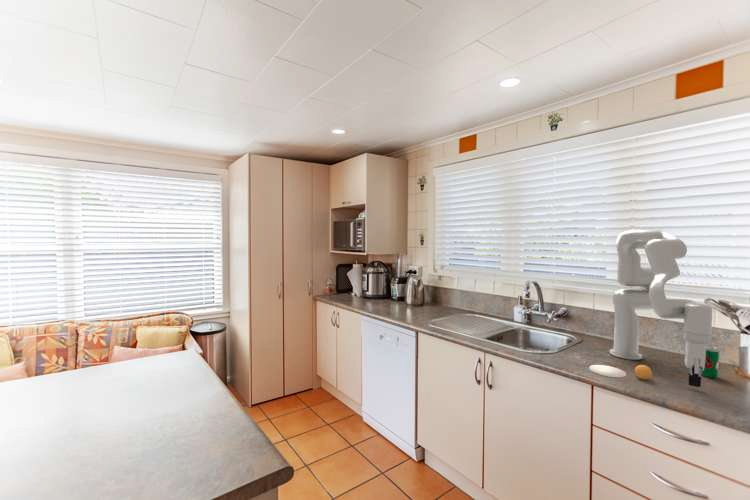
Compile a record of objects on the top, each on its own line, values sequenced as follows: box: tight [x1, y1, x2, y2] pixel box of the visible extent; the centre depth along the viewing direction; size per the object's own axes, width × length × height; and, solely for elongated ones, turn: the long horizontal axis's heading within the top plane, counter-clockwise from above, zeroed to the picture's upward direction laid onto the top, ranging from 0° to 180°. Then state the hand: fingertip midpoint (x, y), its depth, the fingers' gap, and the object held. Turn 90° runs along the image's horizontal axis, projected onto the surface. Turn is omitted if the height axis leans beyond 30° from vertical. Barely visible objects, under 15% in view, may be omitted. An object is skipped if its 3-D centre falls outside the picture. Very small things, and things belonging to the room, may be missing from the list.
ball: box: [634, 364, 653, 380], centre depth 138 cm, size 6×6×6 cm
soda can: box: [701, 345, 720, 379], centre depth 140 cm, size 5×5×12 cm
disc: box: [588, 364, 627, 379], centre depth 145 cm, size 13×13×1 cm
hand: (694, 385), depth 129 cm, fingers closed
